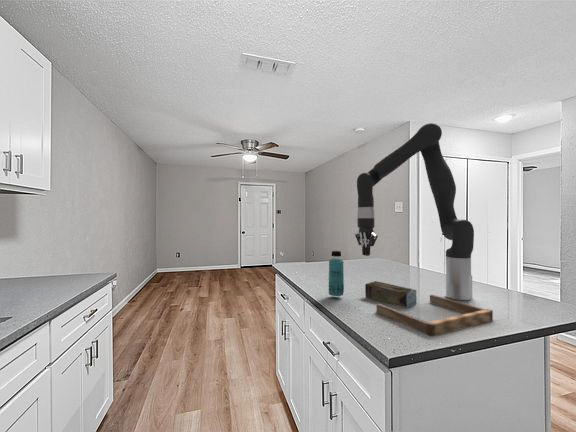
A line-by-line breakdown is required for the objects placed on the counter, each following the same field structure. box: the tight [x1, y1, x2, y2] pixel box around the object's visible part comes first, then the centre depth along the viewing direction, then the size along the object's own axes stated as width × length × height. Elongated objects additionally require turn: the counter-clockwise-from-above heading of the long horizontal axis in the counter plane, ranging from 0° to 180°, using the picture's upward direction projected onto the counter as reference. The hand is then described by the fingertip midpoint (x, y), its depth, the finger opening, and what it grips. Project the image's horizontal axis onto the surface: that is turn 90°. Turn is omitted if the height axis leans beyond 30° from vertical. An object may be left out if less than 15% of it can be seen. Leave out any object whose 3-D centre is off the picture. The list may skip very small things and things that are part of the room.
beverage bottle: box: [327, 250, 345, 297], centre depth 120 cm, size 6×7×20 cm
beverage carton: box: [364, 280, 418, 309], centre depth 116 cm, size 8×19×7 cm, turn 39°
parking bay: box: [376, 294, 494, 337], centre depth 97 cm, size 29×22×3 cm
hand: (366, 255), depth 128 cm, fingers closed
